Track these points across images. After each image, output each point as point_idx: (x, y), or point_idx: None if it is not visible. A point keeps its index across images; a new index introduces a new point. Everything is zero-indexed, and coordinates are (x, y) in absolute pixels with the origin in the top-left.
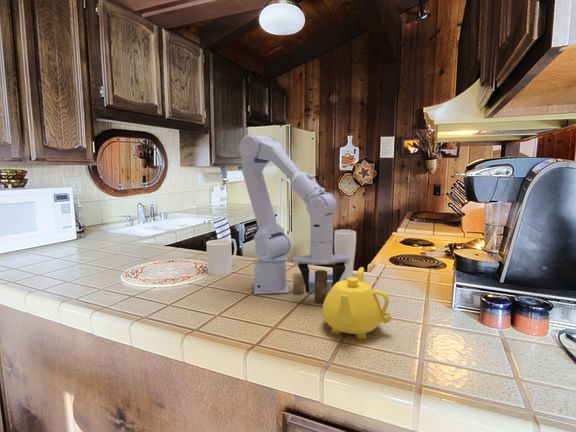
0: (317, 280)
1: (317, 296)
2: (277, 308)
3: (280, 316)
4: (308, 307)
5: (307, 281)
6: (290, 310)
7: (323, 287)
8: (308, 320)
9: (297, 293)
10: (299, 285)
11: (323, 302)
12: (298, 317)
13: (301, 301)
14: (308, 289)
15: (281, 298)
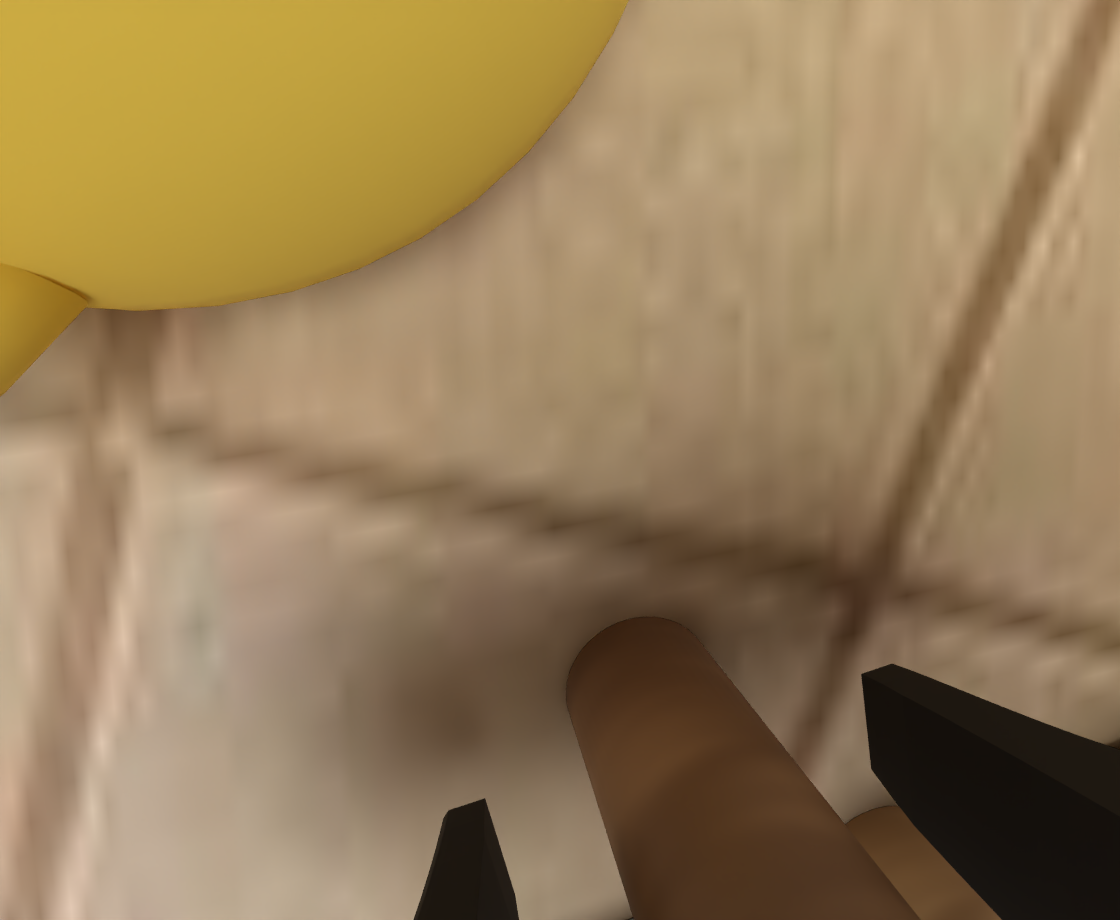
0: (879, 878)
1: (714, 668)
2: (1103, 393)
3: (1087, 177)
4: (780, 479)
5: (1078, 769)
6: (977, 361)
7: (688, 778)
8: (785, 87)
9: (895, 811)
10: (951, 906)
11: (607, 636)
12: (899, 169)
13: (853, 628)
14: (912, 689)
15: (1050, 657)
